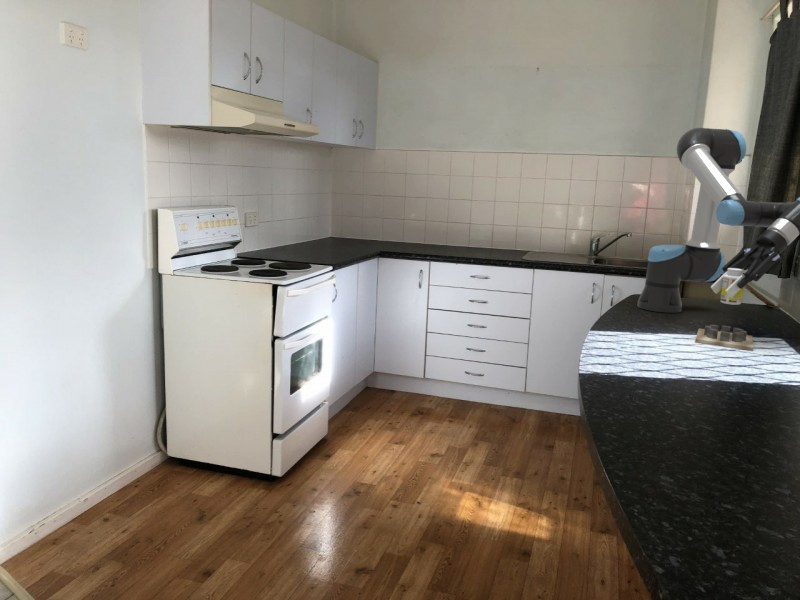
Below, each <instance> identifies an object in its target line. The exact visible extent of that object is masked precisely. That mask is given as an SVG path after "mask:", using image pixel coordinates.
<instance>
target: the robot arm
mask: <svg viewBox="0 0 800 600" xmlns="http://www.w3.org/2000/svg"><path fill="white" fill-rule="evenodd" d="M746 153H747V142H746V140H745V138H744V136H743V134H742V133H741V132H740V131H738V130H733V129H732V130H731V129H727V128H726V129H725V128H709V127H707V128H706V127H696V128H691V129H689V130H687V131H686V132H684V134H682V136H681V137H680V139H679V140H678V143H677V145H676V155H677V158H678V161H679V162H680V163H681V165H682V166H683V167H684V168H685V169H688V170H690V171H691V173H692V174H693V175H694V177H695V178H696V179H697V181H698V182H699V183H700V186H699V191H698V196H697V197H698V198H697V203H696V209H695V214H694V219H693V220H694V221H693V225H692V232H691V238H690V240H687V242H685V245H682V244H659V245H655V246H652V247H650V249H649V252H648V257H647V267H646V274H645V281H644V282H645V284H644V288H643V289H642V291H641V293H640V296H639V298H638V300H637V304H636V305H637V307H638V308H639V309H642V310H646V311H651V312H659V313H666V314H667V313H669V314H670V313H671V314H674V313H675V314H677V313H681V312H682V309H683V304H682V299H681V294H680V284H681V282H699V283H706V282H713V281H715V282H714V283H712V285H711V286H710V288H711V290H712V291H713V292H714V293H715V294H718V293H720V291H722V284H723V277H724V275H726V274H727V270H728V268H737V269H742V270H743V269H744V268H746V267H748V266H749V267H748V268H747V270H746V272H742V275H741V276H740V277H739V278H738V279H737V280H736V281H735V282H733V283H732V284H731V285H730V286H729V287H728V288H727V289H726V290H725V291H726V293H727V294H728V295H729V297H731V298H732V297H733V296H734V295H735V294H736V293H737V292H738V291H739V290H740V289H742V288H743V289H744V287H746V285H747V284H749V283H751V282H753V281H754V282H759V280H760V279H761V278H762V277H763V276H764V275H766V273H767V272H768V271H769V270H770V269H771V268H772V267H773V266H774V265H775V264H776V263H778V262H780V261H781V259H782V258H781V256H780V255H781V254H782V252H784V251H785V250H786V249H787V247H788V246H790V245H791V243H793V242H794V241H795V240H796V238H797V237H799V236H800V196H799V197H798V198H796V199H795V201H793V202H789V201H788V202H769V201H768V202H767V201H754V200H753V201H750V200H747V199H746V198H745V196H744V195H742V193H741V192H740V191H739V189H738V188H737V187H736V186H735V184H734V183H733V181H732V180H731V179H730V178H729V177H730V175H731V174H732V173H733V172H734V171H736V166H737V165H739V164H741V163H742V162H743V159H745V156H746ZM721 225H724V226H725V225H726V226H731V227H734V226H735V227H736V226H738V227H759V228H760V227H762V228H766V229H765V230H764V231H763V232H762V233H761V234H760V235H759V236H758V237H757V239H756V240H757V241H756V243H755V244H754V245H753V246H751V247H750V248H747V247H746V246H743V247H741V249H740V250H739V251H738V253H736V255H735V256H733V257H732V258H731V259H730V260H729V261H728V262H727V263H726V259H725V254H724V253H723V252H722V251H721V246H720V245H719V243H718V239H719V238H718V237H719V233H720V232H719V231H720V226H721Z"/></svg>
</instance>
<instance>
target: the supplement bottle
mask: <svg viewBox="0 0 800 600" xmlns="http://www.w3.org/2000/svg"><path fill="white" fill-rule="evenodd" d="M743 273H744V270H743V269H737V268H728V270H727V274H726V275H724V277H723V284H722V289H721V290H720V291H721V292H720V303H722V304H724V305H725V304H726V305H732V306H733V305H734V306H735V305H736V306H737V305H741V304H742V299H743V291H744V287H743V288H742V289H740V290H739V291H738V292H737V293H736V294H735V295H734V296H733V297H732V298H731V297H729V295H728V294H727V293H726V291H725V290H726V289H727V288H728V287H729V286H730V285H731V284H732V283H733V282H735V281H736V280H737V279H738V278H739V277H740V276H741V275H743Z"/></svg>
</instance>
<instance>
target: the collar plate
mask: <svg viewBox="0 0 800 600" xmlns="http://www.w3.org/2000/svg"><path fill="white" fill-rule="evenodd" d="M719 327H720V325H717V324H708V325H705V327H704V328H698V330H697V333H696V336H695V341H694V342H695V343H698V344H705V345H710V346H711V345H712V346H717V345H718V347H723V348H724V347H725V348H731V349H739V350H745V351H754V340H753V339H754V338H753V335H749V334H748V331H746V330H744V329H742V328H739V327H733V328H732V327H731V326H730V325H721V329H720V331H719ZM731 328H732V332H731Z"/></svg>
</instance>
